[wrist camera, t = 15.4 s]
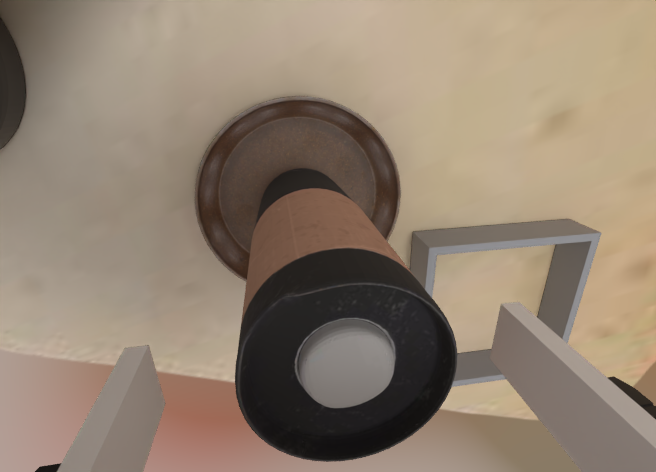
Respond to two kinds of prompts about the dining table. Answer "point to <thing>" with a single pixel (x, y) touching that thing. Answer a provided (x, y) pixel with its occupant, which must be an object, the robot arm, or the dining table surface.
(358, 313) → the travel mug
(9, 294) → the dining table surface
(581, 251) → the grey open square frame
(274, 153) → the plant saucer
